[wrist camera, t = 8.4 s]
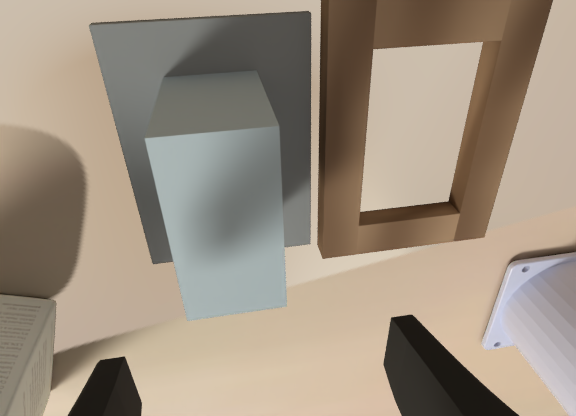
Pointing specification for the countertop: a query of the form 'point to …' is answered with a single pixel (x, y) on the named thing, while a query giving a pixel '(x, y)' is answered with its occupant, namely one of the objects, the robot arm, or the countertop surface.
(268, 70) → the rubber mat
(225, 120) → the painted block
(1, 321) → the small box
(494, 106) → the walnut frame
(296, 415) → the countertop surface
